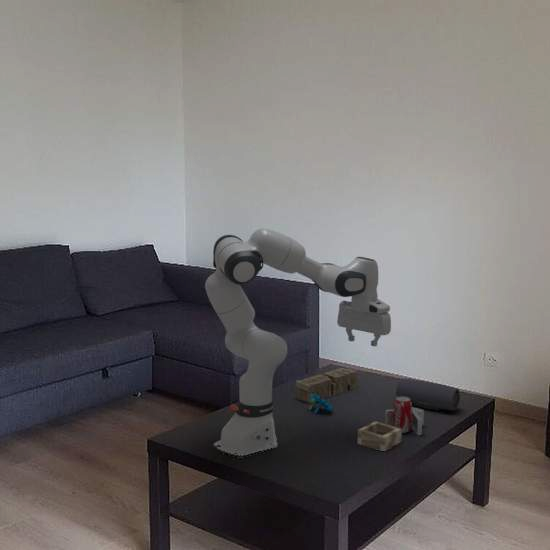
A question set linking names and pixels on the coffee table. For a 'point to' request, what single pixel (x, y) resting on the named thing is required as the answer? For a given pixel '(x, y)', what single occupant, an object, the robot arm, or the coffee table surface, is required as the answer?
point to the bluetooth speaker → (429, 394)
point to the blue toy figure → (319, 403)
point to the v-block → (416, 419)
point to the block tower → (327, 384)
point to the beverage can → (402, 413)
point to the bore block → (379, 436)
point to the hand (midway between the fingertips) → (362, 343)
